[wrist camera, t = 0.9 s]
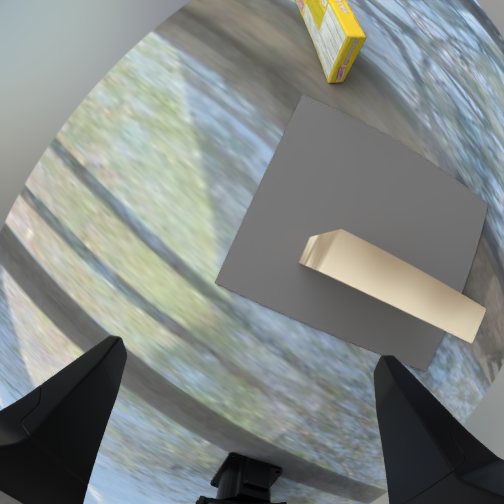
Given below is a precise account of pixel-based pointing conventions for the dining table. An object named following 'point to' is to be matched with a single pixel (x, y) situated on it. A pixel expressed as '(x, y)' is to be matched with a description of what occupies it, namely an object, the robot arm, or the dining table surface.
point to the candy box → (333, 35)
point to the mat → (352, 229)
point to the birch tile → (392, 282)
